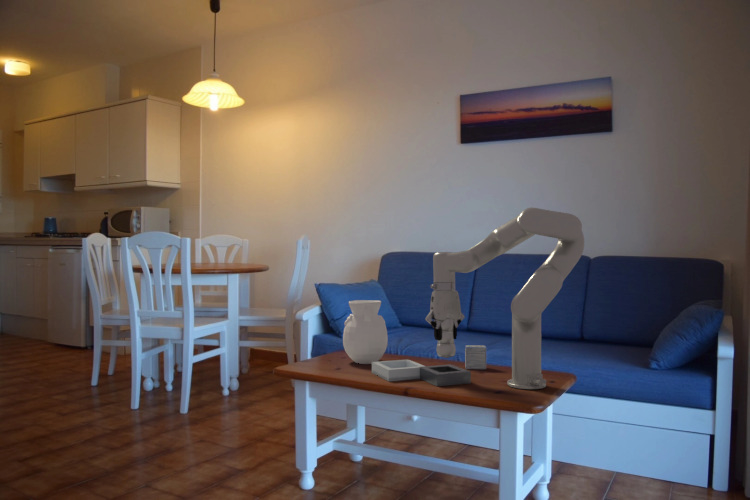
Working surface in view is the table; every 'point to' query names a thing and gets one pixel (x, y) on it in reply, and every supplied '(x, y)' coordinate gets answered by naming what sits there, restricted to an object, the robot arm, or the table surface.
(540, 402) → the table surface
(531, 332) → the robot arm
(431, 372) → the dark grey storage bin
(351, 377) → the table surface
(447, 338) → the plastic bottle
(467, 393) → the table surface
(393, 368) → the tray
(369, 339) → the white vase
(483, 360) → the grey upright block
